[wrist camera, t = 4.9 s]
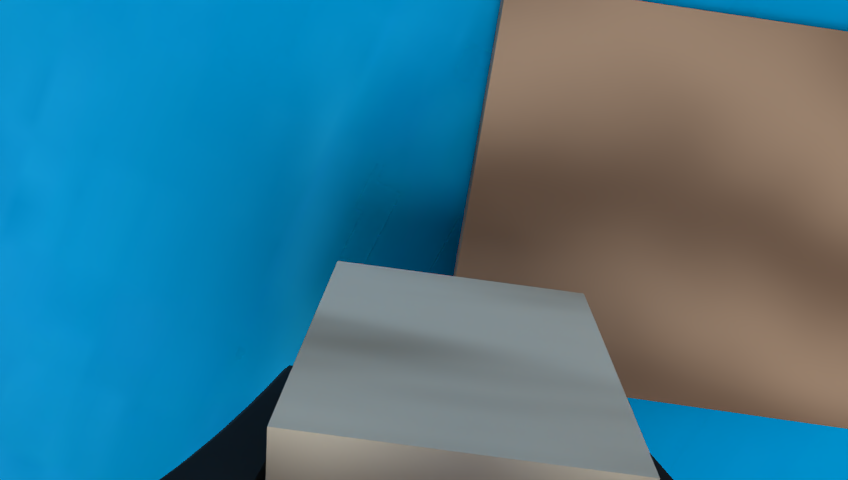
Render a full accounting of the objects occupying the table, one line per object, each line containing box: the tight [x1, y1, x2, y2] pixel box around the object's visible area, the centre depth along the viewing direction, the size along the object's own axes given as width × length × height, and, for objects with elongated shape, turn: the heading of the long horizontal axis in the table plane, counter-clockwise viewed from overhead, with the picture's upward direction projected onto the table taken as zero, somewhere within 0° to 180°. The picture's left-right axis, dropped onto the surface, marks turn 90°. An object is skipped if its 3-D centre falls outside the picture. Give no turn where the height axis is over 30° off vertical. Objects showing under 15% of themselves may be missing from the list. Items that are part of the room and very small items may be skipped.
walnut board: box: [453, 0, 848, 429], centre depth 19 cm, size 12×14×1 cm
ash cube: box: [266, 261, 660, 480], centre depth 11 cm, size 5×5×5 cm
